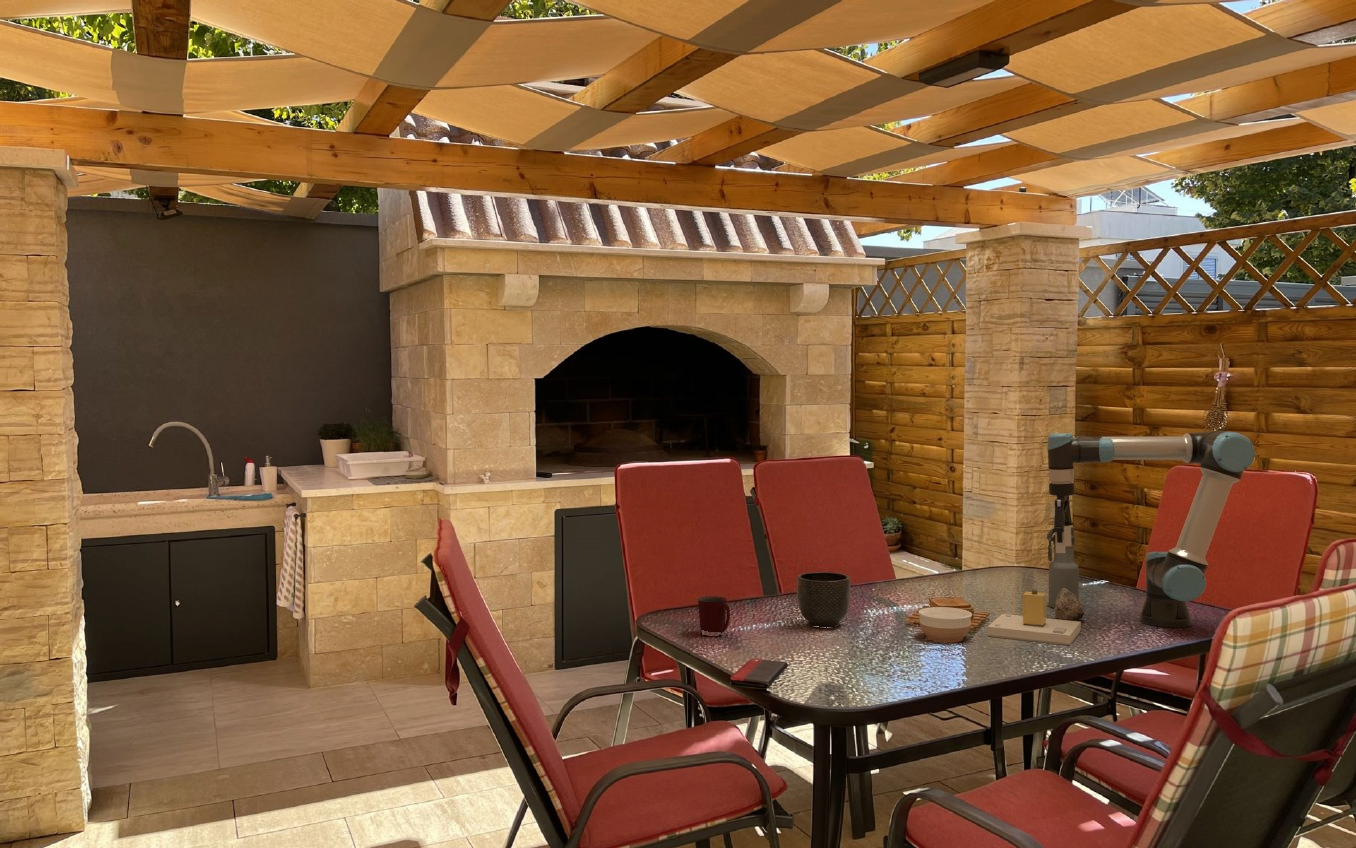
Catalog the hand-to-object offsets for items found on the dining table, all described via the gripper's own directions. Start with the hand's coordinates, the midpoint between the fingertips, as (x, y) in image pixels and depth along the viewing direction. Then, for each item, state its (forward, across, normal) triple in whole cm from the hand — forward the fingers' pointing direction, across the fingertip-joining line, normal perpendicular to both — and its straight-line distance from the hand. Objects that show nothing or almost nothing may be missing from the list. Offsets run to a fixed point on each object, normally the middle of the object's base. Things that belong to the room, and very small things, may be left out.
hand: (1063, 549), depth 323 cm
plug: (+24, +10, -8) cm, 28 cm away
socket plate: (+25, +10, -8) cm, 28 cm away
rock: (+26, -14, -2) cm, 30 cm away
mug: (+22, +56, -96) cm, 113 cm away
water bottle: (+26, -34, -6) cm, 43 cm away
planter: (+23, +28, -71) cm, 79 cm away
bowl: (+24, +28, -32) cm, 48 cm away
